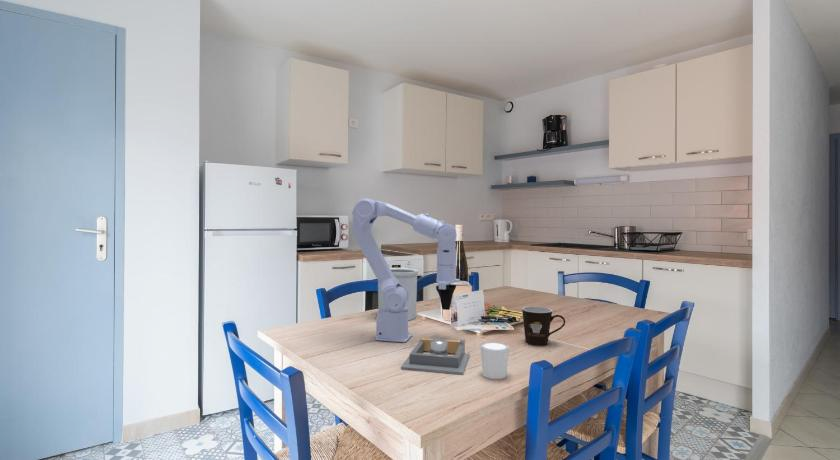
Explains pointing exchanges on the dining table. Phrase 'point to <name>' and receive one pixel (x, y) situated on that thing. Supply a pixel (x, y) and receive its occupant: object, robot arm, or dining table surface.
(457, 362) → the housing
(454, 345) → the gate
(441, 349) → the steel cylinder
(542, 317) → the coffee mug
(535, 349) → the dining table surface
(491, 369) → the white cylinder
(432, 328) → the dining table surface
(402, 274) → the utensil holder
